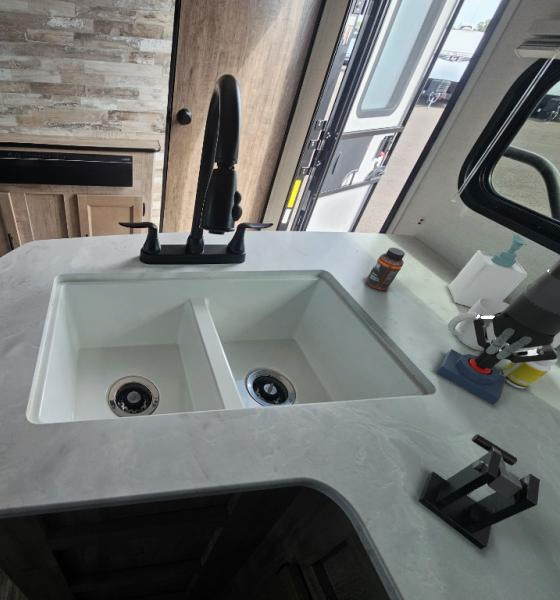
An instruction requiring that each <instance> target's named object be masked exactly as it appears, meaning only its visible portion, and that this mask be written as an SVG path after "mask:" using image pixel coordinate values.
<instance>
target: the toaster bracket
mask: <svg viewBox="0 0 560 600" xmlns="http://www.w3.org/2000/svg"><path fill="white" fill-rule="evenodd" d="M500 460H501V455H500V454H498V453H497V452H495V451H494V450H492V451H490V452H489V453H488V452H487V453H486V454H484V455H482V456H481V457H480V458H478V459H476V460H475V461H474V462H471V463H470V464H469V465H467V466H465V467H464V468H462V469H461V470H460V471H458V472H456V473H454V474H453V475H452V476H450V477H448V478H447V479H445V478H443V476H441V475H440V474H438V473H437V472H435V471H431V472H430V473H429V474H428V475H427V478H426V481H425V483H424V485H423V487H422V490H421V492H420V495H419V498H418V502H419V504H421V505H422V506H424V508H426V509H427V510H429V511H430V512H432V514H434V515H435V516H437V517H438V518H439V519H441V520H442V521H443V522H444V523H446V524H447V525H448V526H449V527H450V528H452V529H453V530H455V531H456V532H458V533H459V534H460V535H461V536H463V537H464V538H465V539H466V540H468V541H469V542H470V543H472V544H473V545H474V546H476V547H477V548H478V549H479V550H483V549H486V548H487V547H488V543H489V538H490V534H491V528H492V526H493V525H495V524H498V523H501V522H502V521H504V520H506V519H508V518H511V517H514V516H515V515H517V514H521V513H522V512H525V511H527V510H529V509H531V508H533V507H536V506H538V501H539V492H540V484H541V479H540V478H538V477H537V476H535V475H533V474H532V473H529V474H526V475H524V476H523V477H521V478H519V480H520V483H521V486H522V489H521V490H519V491H518V492H517V493H516V494H514V495H513V496H512V497H511V498H509V499H506V498H505V497H503V496H502V495H500V494H499V493H497V492H496V491H494V492H493V493H490V494H489V495H486V496H485V497H483V498H481V499H480V500H477V501H476V500H475V499H473V498H472V497H470V496H469V495H470V494H471V493H472V492H474V491H476V490H479V489H480V488H482V487H483V486H485V485H487V483H489V482H490V481H492V480H494V479H496V478H497V473H498V469H499V464H500Z"/></svg>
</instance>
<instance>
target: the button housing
mask: <svg viewBox="0 0 560 600" xmlns="http://www.w3.org/2000/svg"><path fill="white" fill-rule="evenodd" d="M476 356H477V355H475V354H471V353H466V354H465V353H464V354H463V353H460V352H458V351H457V350H454V349H453V348H450V349H449V350H448V351H447V352H446V353H445V354H444V356H443V358H442V360H441V362H440V364H439V366H438V368H437V370H436V372H435V374H437V375H439V376H441V377H442V378H444V379H445V380H448V381H449V382H451V383H453V384H454V385H456V386H458V387H460V388H461V389H463V390H465V391H467V392H468V393H471V394H472V395H474V396H476V397H478V398H480V399H482V400H483V401H485V402H486V403H488V404H490V405H494V404H495V403H496V402H498V401H499V400H500V399H501V397H502V393H503V389H504V387H505V382H506V381H505V379H506V377H504V376H502V375H501V374H500V371H498V369H497V367H496V366H494V367H493V368H491V372H490V373H489V374H488V375H486V374H483V373H480V372H478V371H476V370H475V369H473V368H472V367H471V366H470V365H469V363H468V362H469V361H470V360H471V359H476Z"/></svg>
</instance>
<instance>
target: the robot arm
mask: <svg viewBox="0 0 560 600" xmlns="http://www.w3.org/2000/svg"><path fill="white" fill-rule="evenodd" d="M492 322H493V329H494V335H495V337H494V339H493V340H492V341H491V342H490V341H489V340H488V336H487V330H486V328H487V327H489V325H490V323H492ZM473 323H474V328H475V333H476V338H477V343H478V345H479V346H481V347H483V348H484V350H483V351H481V350H480V352H479V353H478V354H477V355H475V356H476V359H475V362H476V366H478V367H480V368H482V369H485V368H488V369H490V368H493V367H496V365H498V364H499V363H500V362H501V361H503V360H507V361H510V363H511V362H513V363H523V362H534V361H545V360H555V359H558V354H559V353H558V351H559V350H558V349H557V347H556V348H554V347H553V345H552V343H553V341H554V337H555V336H556V335H557V334H558V333H559V332H560V258H558V260H557V261H555V262H554V263H553V265H551V266H550V267H549V268H548V269H547V270H546V271H545V272H543V273H542V274H541V275H539V276H538V277H537V278H536V279H534V280H533V281H532V282H531V283H529V284H528V285H527V286H526V288H525V289H524V290H523V291H522V292H521V293H520V294H519V295H518V296H517V297H516V298H514V300H513V301H512V302H511V303H510V305H509V306H508V307H507V308H506V309H505V310H504V311H502V312H499V313H496V314H495V315H494V316H483V315H481V314H478V315H476V317H475V319H474V321H473ZM505 342H506V344H505V345H504V346H502V345H503V344H504V343H505ZM539 346H540V347H539ZM532 347H538V348H537V349H533V350H524V351H518V350H519V349H520V348H532Z"/></svg>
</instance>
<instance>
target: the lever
mask: <svg viewBox="0 0 560 600" xmlns="http://www.w3.org/2000/svg"><path fill="white" fill-rule="evenodd" d="M471 442H472V443H474V444H476V445H477V446H478V447H481V448H482V449H484V450H485V451H487V453H489V452H490V451H492V450H494V451H495V452H497V453H498V454H500V455H501V460H500V464H499V469H498V473H497V478H496V479H494V480H492V481H490V482H489V483H487V484H486V485H487V487H488V488H490V489H491V490H493V491H494V492H497V493H499V494H500V495H502V496H503V497H505V498H506V499H509V498H511V497H512V496H513V495H514V494H516V493H517V492H518V491H519V490H521V489H522V486H521V483H520V480H519V479H520V478H519V476H518V475H516V474H514V473H512V472H511V471H509V470H508V469H507V467H506V464H507V465H509V466H514V465H515V464H516V463H517V462H518V458H517V457H516V456H514V455H513V454H512V453H510V452H508V451H506V450H505V449H503V448H501V447H499V446H498V445H497V444H495V443H493V442H491V441H490V440H488V439H486V438H485V437H484V436H483V435H480V434H479V433H476V434H475V435H474V436H472V438H471Z"/></svg>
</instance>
